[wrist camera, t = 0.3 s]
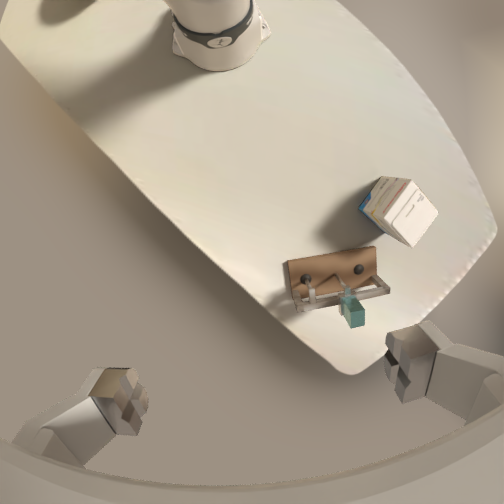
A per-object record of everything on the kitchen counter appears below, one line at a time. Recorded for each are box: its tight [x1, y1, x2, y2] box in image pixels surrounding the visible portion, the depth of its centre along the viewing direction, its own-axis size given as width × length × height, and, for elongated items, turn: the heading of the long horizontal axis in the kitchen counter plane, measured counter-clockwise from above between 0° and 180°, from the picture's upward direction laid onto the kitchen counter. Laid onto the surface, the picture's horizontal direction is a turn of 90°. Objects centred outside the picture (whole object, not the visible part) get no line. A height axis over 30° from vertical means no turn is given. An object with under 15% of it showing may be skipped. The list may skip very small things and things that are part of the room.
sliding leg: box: [334, 273, 365, 328], centre depth 49 cm, size 5×3×13 cm, turn 10°
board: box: [288, 246, 390, 312], centre depth 53 cm, size 8×18×8 cm, turn 100°
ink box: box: [358, 176, 438, 248], centre depth 47 cm, size 9×8×12 cm
